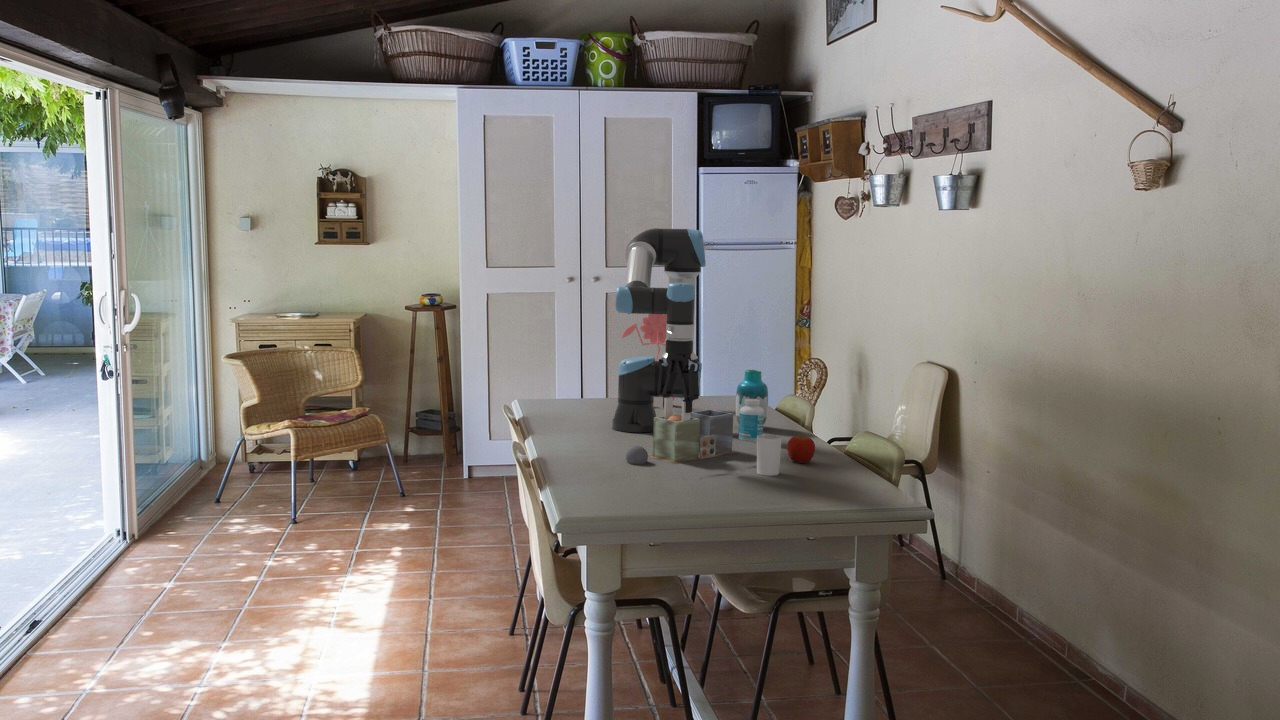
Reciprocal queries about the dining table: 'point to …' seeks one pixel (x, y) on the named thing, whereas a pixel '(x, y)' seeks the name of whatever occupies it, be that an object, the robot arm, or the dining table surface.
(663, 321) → the pink flower drawing
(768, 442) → the drinking glass
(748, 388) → the vase
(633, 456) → the loose charcoal ball
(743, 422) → the pill bottle
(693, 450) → the rack
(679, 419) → the loose terracotta ball
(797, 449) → the apple
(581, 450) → the dining table surface
